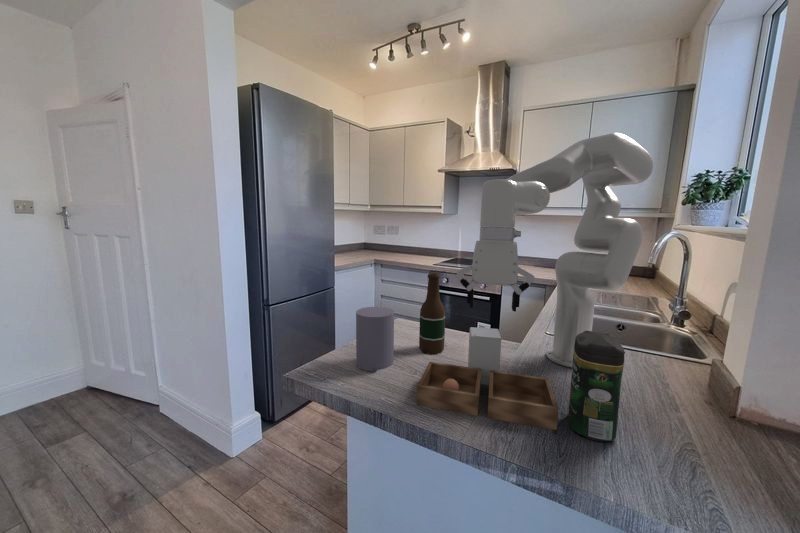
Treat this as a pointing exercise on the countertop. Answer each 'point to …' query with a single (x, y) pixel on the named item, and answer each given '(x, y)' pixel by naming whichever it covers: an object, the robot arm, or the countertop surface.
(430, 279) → the beer bottle
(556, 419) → the bin
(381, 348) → the container
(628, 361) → the countertop surface
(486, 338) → the supplement box
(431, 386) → the bin
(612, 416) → the coffee jar
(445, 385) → the ball
